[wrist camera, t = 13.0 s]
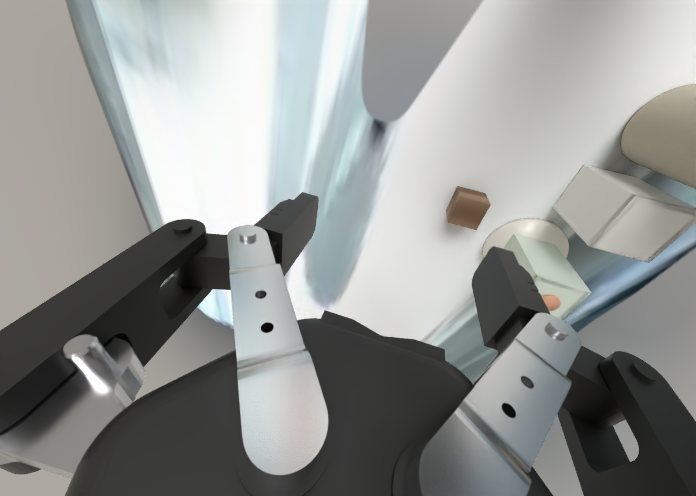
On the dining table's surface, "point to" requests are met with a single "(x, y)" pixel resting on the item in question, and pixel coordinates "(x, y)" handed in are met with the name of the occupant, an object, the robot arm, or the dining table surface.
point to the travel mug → (665, 135)
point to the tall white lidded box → (623, 213)
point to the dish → (527, 234)
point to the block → (467, 208)
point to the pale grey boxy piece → (550, 274)
